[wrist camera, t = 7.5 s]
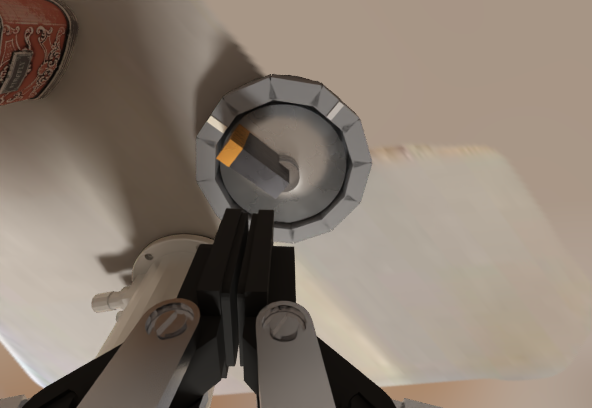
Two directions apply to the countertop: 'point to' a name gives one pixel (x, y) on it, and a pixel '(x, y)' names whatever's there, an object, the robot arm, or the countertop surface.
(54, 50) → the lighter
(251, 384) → the robot arm
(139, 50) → the countertop surface
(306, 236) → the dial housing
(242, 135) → the dial
